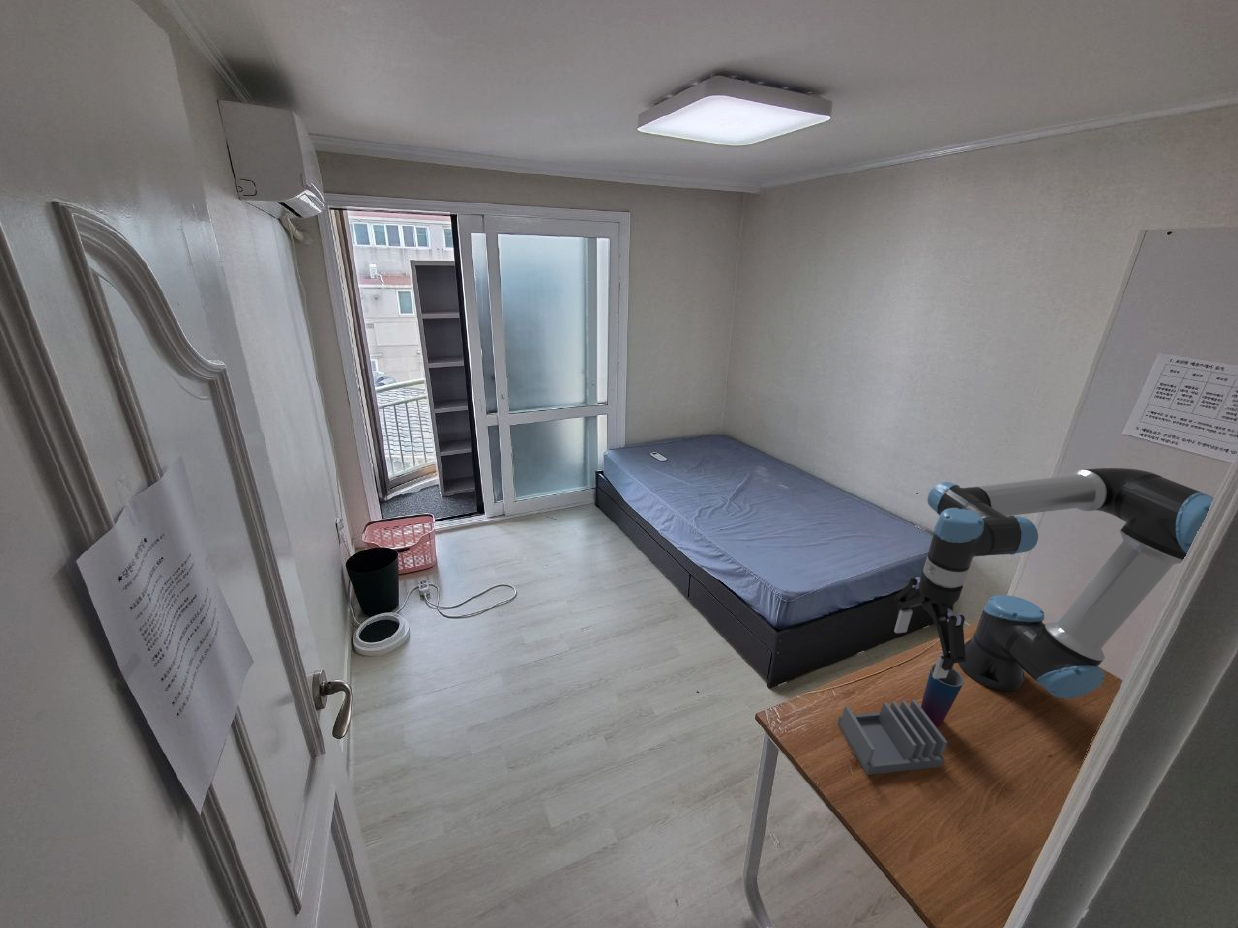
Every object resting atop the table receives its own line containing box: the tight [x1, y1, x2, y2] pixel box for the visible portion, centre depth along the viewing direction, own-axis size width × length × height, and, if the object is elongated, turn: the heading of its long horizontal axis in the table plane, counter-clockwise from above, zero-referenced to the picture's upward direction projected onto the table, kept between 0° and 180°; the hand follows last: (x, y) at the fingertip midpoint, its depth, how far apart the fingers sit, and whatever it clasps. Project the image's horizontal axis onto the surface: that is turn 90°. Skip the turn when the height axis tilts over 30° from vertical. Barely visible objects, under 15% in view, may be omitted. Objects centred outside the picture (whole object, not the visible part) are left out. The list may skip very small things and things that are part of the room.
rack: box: [837, 699, 948, 776], centre depth 116 cm, size 18×13×7 cm
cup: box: [920, 663, 965, 728], centre depth 121 cm, size 7×7×15 cm
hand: (918, 653), depth 114 cm, fingers open, 13 cm apart
